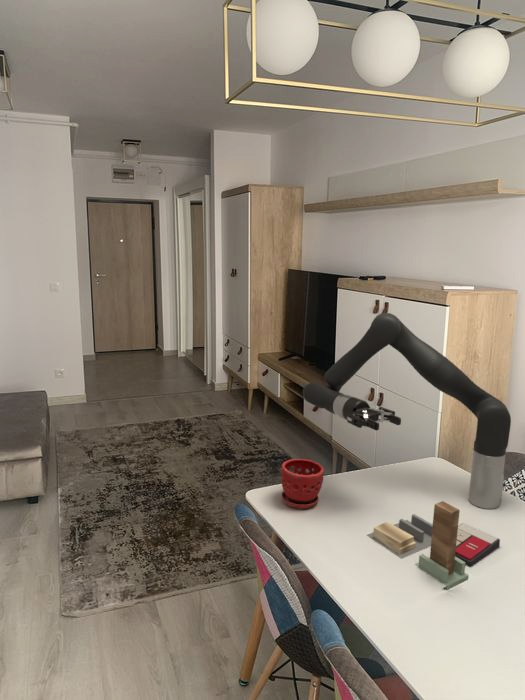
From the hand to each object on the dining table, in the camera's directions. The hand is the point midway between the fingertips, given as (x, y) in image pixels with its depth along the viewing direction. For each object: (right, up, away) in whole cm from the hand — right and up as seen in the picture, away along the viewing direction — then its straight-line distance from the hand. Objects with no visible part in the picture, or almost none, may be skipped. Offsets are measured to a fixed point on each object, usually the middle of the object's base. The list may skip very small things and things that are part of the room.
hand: (389, 424), depth 153 cm
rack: (+3, -32, -5) cm, 32 cm away
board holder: (+8, -35, -18) cm, 40 cm away
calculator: (+18, -33, -8) cm, 39 cm away
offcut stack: (0, -31, -7) cm, 32 cm away
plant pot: (-24, -27, +17) cm, 40 cm away
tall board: (+8, -34, -19) cm, 39 cm away
